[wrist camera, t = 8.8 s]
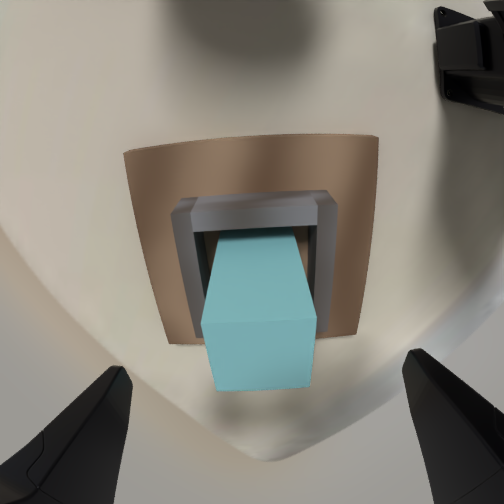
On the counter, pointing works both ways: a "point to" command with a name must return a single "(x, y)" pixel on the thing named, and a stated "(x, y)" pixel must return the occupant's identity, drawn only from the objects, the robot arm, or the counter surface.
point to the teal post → (259, 312)
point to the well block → (256, 217)
